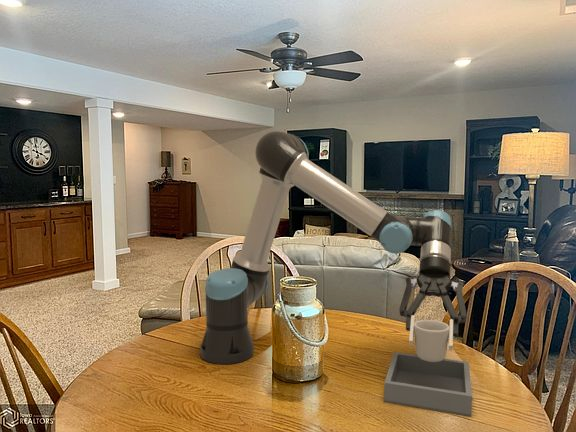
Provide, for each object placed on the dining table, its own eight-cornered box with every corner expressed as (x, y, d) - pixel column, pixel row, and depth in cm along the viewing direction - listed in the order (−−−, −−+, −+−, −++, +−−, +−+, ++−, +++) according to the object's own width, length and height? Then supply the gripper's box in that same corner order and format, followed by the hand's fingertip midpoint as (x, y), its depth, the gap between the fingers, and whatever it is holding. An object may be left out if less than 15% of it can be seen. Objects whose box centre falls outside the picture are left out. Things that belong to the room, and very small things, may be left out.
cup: (407, 346, 114) (408, 315, 113) (439, 346, 113) (440, 315, 112) (417, 365, 103) (418, 330, 102) (453, 365, 102) (454, 331, 102)
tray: (383, 401, 103) (384, 382, 103) (393, 368, 121) (393, 351, 120) (471, 416, 97) (472, 396, 97) (468, 379, 114) (468, 361, 114)
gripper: (477, 273, 117) (478, 358, 104) (395, 267, 124) (385, 346, 111) (479, 257, 112) (480, 344, 98) (393, 252, 118) (383, 333, 105)
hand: (430, 345), depth 104 cm, fingers closed on cup, 8 cm apart
